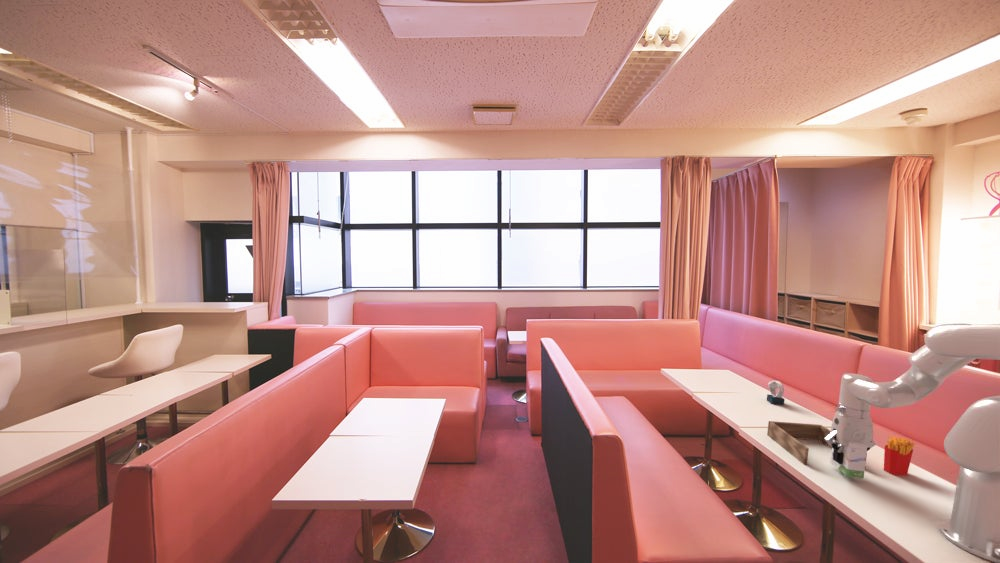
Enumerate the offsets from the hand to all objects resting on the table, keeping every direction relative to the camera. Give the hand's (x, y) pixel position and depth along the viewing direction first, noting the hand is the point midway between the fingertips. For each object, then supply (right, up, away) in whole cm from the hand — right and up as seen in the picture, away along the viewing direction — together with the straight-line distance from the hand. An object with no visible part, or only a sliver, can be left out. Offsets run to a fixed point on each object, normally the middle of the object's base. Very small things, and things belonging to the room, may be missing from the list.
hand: (847, 462), depth 121 cm
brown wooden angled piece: (+1, -3, +15) cm, 15 cm away
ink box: (0, -3, 0) cm, 3 cm away
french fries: (+20, -5, +3) cm, 21 cm away
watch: (+20, 0, +58) cm, 62 cm away
